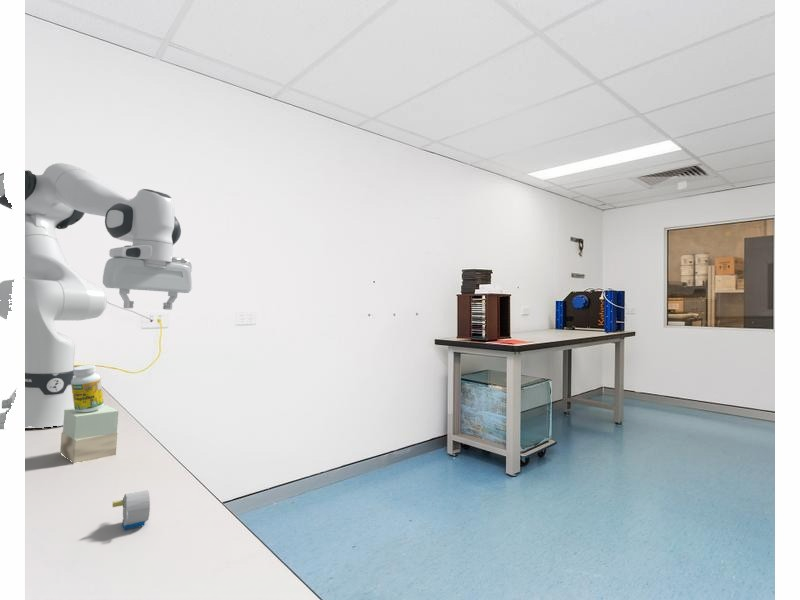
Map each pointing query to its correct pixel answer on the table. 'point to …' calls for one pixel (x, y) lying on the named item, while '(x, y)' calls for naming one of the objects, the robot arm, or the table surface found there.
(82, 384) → the supplement bottle
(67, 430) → the tower top block
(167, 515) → the table surface
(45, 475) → the table surface
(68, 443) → the tower bottom block
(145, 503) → the electric motor
